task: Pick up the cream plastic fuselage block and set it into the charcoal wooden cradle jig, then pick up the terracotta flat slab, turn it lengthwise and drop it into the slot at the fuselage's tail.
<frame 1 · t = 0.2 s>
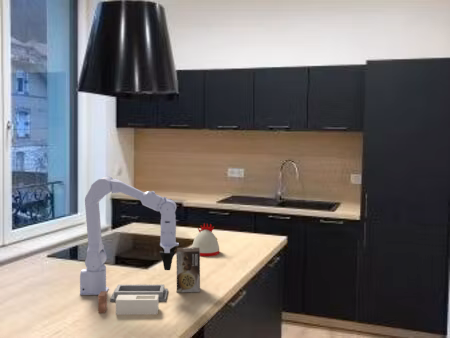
hand: (168, 267, 202), 10 cm above the counter, fingers open, 7 cm apart
kitchen timer: (205, 253, 266), on the counter
cradle: (139, 296, 199), on the counter
fuselage: (137, 311, 183), on the counter
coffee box: (188, 290, 207), on the counter
terracotta flat slab: (102, 310, 184), on the counter
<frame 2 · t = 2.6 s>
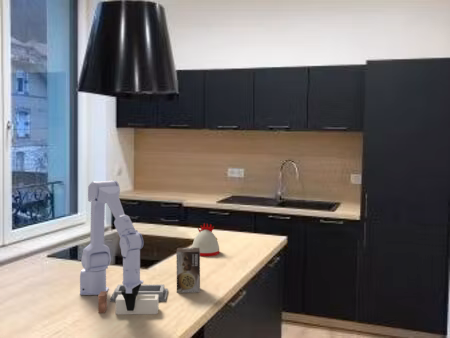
hand: (131, 307, 183), 1 cm above the counter, fingers closed on fuselage, 5 cm apart
fuselage: (137, 311, 183), on the counter, touching gripper
everything else where it was.
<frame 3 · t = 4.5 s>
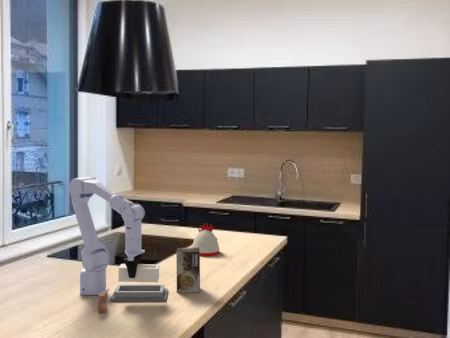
hand: (133, 275, 194), 9 cm above the counter, fingers closed on fuselage, 5 cm apart
fuselage: (139, 279, 194), point 8 cm above the counter, touching gripper
everything else where it was.
when the fingers open (4 cm above the counter, at t = 6.4 s): fuselage drops 1 cm, resting on cradle.
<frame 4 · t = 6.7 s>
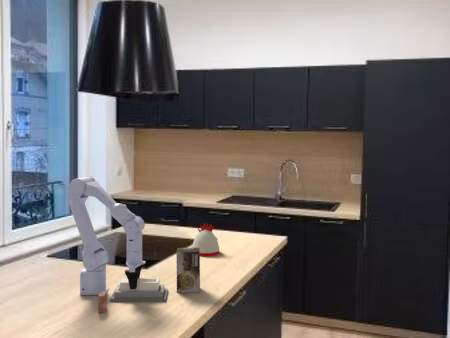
hand: (134, 285, 199), 4 cm above the counter, fingers open, 7 cm apart
fuselage: (140, 293, 199), point 1 cm above the counter, touching cradle
everything else where it was.
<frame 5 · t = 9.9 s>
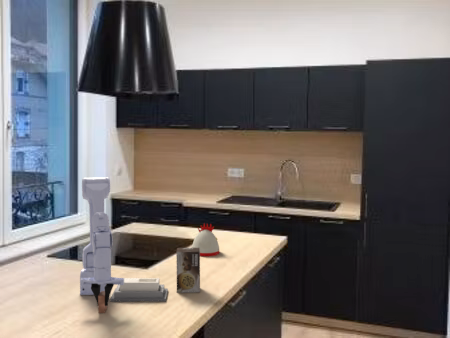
hand: (102, 305, 184), 2 cm above the counter, fingers closed on terracotta flat slab, 2 cm apart
terracotta flat slab: (102, 310, 184), on the counter, touching gripper
everything else where it was.
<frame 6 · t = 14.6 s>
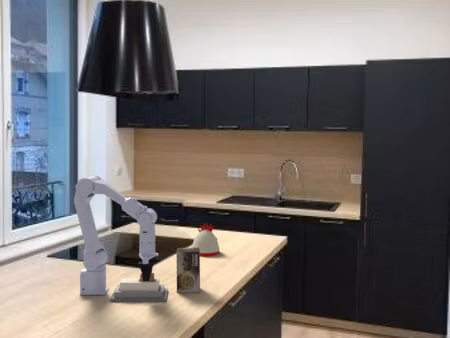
hand: (147, 278, 199), 7 cm above the counter, fingers open, 7 cm apart
fuselage: (140, 293, 199), point 1 cm above the counter, touching cradle, terracotta flat slab
terracotta flat slab: (147, 289, 199), point 2 cm above the counter, touching fuselage
everything else where it was.
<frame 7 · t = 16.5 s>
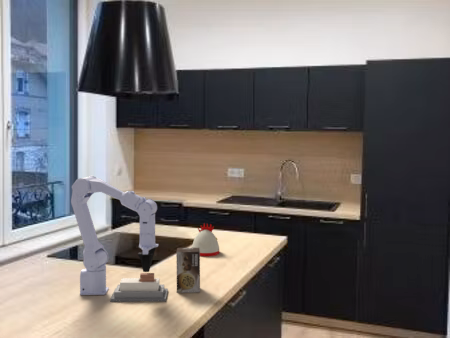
hand: (147, 268, 198), 10 cm above the counter, fingers open, 7 cm apart
nothing on the counter moved.
at the end: fuselage 0.1 cm off-centre on the cradle, point 1.0 cm above the cradle's base; terracotta flat slab 0.1 cm from the target spot on the fuselage, point 1.5 cm above the fuselage's base; terracotta flat slab tilted 0° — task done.
